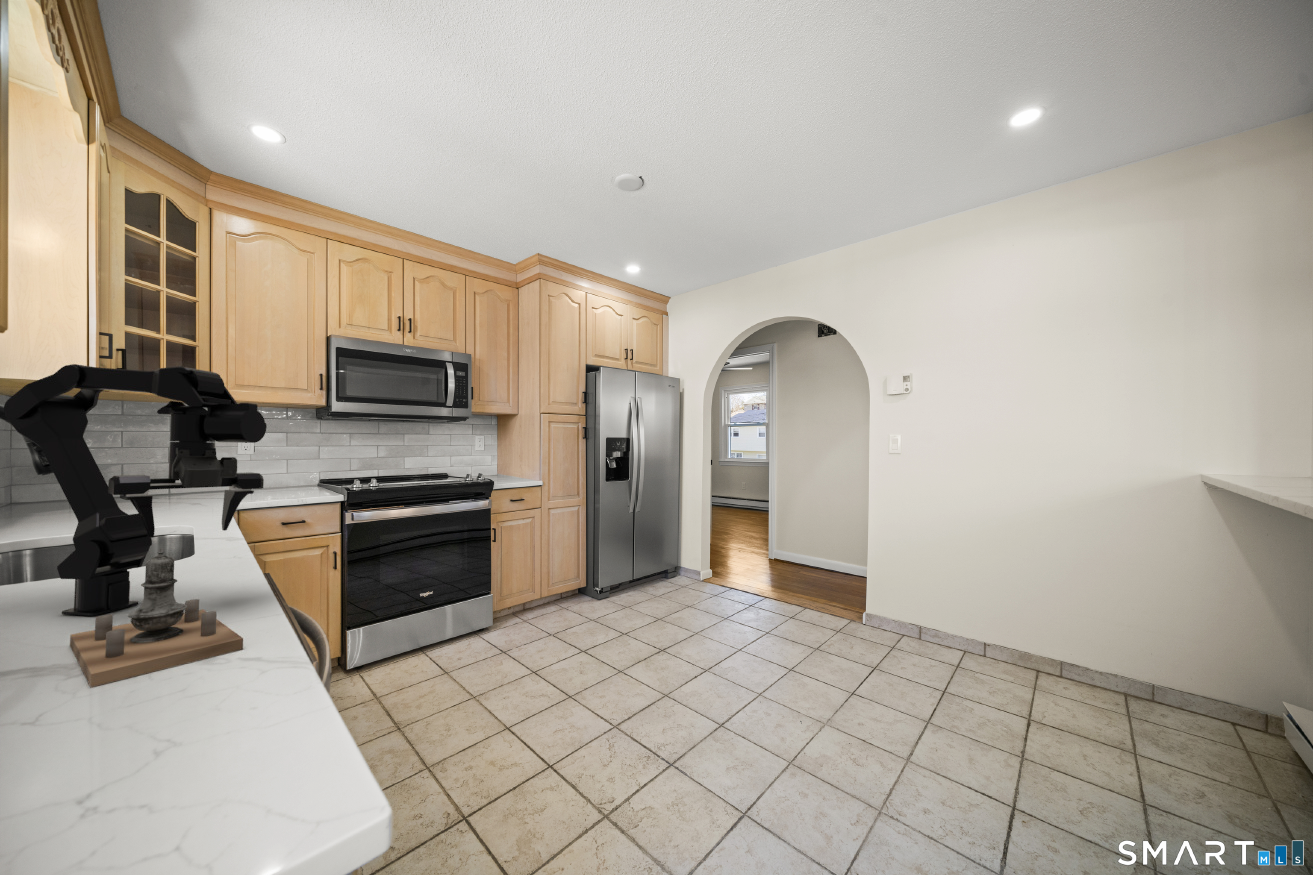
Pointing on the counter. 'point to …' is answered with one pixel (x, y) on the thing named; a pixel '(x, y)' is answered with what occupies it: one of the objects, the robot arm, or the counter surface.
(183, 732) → the counter surface
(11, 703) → the counter surface
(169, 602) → the dark grey turned piece
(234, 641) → the peg board
